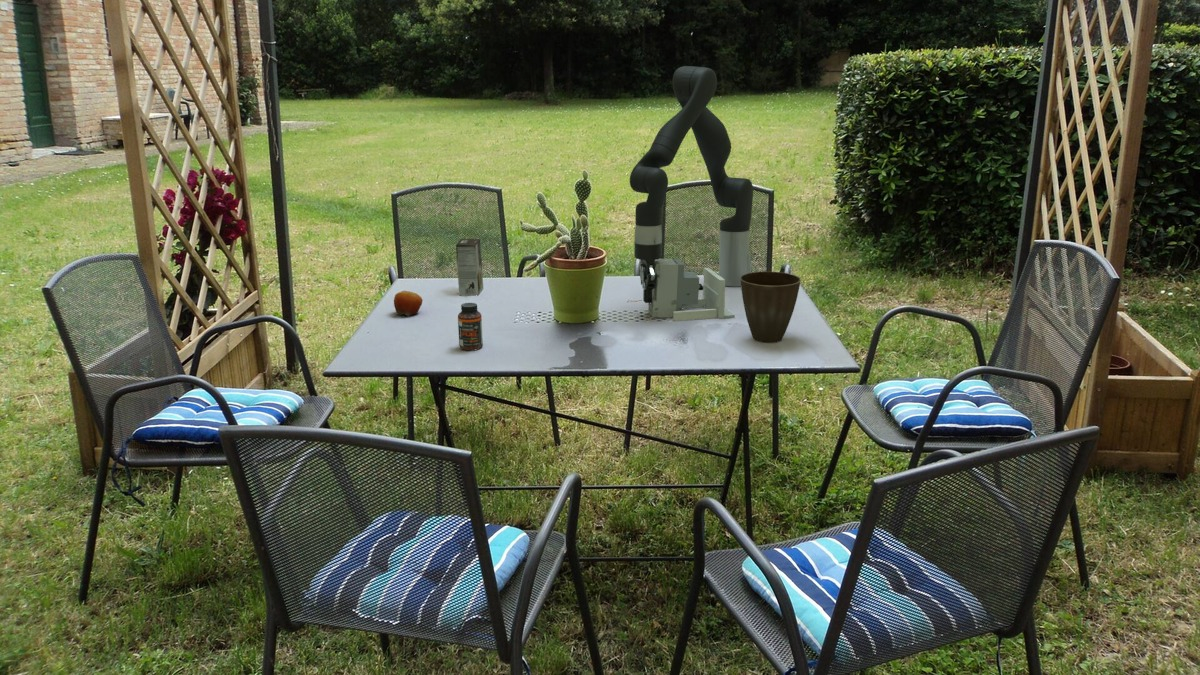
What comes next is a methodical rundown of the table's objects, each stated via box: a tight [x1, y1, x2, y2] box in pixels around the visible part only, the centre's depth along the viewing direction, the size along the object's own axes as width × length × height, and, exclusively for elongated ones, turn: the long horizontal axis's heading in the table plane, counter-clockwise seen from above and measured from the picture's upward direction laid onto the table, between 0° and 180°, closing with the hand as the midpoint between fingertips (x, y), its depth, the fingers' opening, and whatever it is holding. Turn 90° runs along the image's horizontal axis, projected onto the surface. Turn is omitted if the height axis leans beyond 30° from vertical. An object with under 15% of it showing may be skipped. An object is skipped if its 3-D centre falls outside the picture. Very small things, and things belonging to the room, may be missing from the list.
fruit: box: [393, 290, 423, 318], centre depth 264 cm, size 8×8×8 cm
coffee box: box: [455, 238, 484, 297], centre depth 286 cm, size 9×6×16 cm
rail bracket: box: [672, 267, 735, 322], centre depth 260 cm, size 17×15×11 cm
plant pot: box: [740, 270, 801, 344], centre depth 234 cm, size 15×15×16 cm
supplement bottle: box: [457, 302, 484, 351], centre depth 233 cm, size 6×6×11 cm
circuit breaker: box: [647, 258, 703, 318], centre depth 258 cm, size 8×14×15 cm, turn 97°
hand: (647, 302), depth 258 cm, fingers closed
